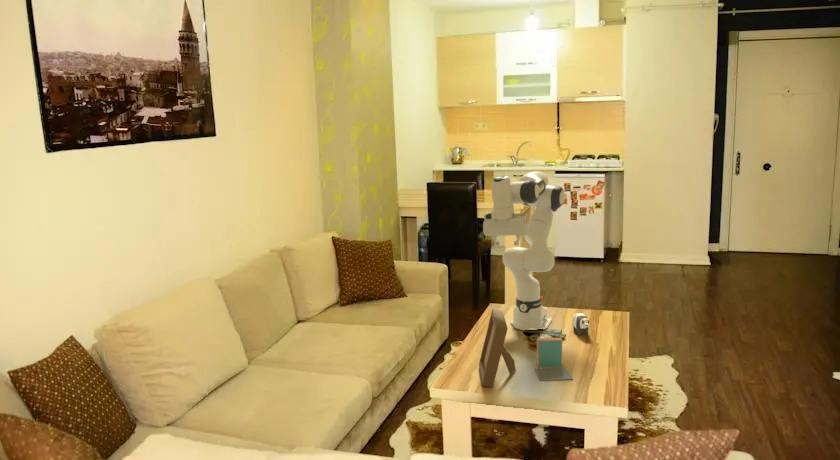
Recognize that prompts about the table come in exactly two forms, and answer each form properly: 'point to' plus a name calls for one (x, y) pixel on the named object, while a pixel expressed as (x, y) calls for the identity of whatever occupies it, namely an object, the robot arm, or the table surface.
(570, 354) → the table surface
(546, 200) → the robot arm
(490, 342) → the photo frame
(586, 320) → the giant panda
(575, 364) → the table surface
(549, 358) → the tile
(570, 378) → the mat
